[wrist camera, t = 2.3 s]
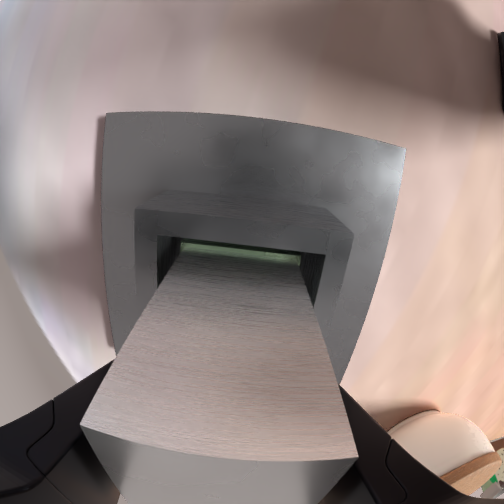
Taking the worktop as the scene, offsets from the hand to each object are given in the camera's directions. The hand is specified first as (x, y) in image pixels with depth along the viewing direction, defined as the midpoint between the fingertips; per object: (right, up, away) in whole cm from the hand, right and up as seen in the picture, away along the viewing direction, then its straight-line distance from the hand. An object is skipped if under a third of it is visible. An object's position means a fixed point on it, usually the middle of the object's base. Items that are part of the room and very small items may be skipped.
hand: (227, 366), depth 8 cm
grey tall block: (0, +2, +6) cm, 6 cm away
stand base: (0, +3, +7) cm, 8 cm away
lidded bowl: (+16, -14, +13) cm, 25 cm away
